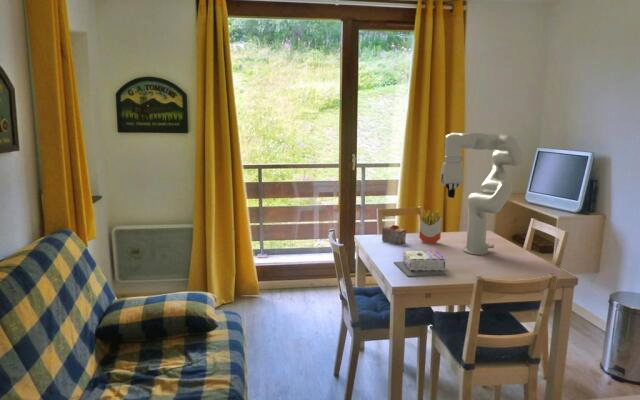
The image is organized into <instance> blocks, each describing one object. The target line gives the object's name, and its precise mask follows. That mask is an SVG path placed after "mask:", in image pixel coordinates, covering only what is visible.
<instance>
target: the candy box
mask: <svg viewBox="0 0 640 400" xmlns="http://www.w3.org/2000/svg"><path fill="white" fill-rule="evenodd" d="M402 253H403V256H402V258H403V259H402V262H404V263H405V265H406V266H407V267H408V269H409V270H410V271H443V272H445V268H446V258H444V257H443V256H442V255H441V253H439V252H438V251H437V250H403V252H402Z"/></svg>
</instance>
